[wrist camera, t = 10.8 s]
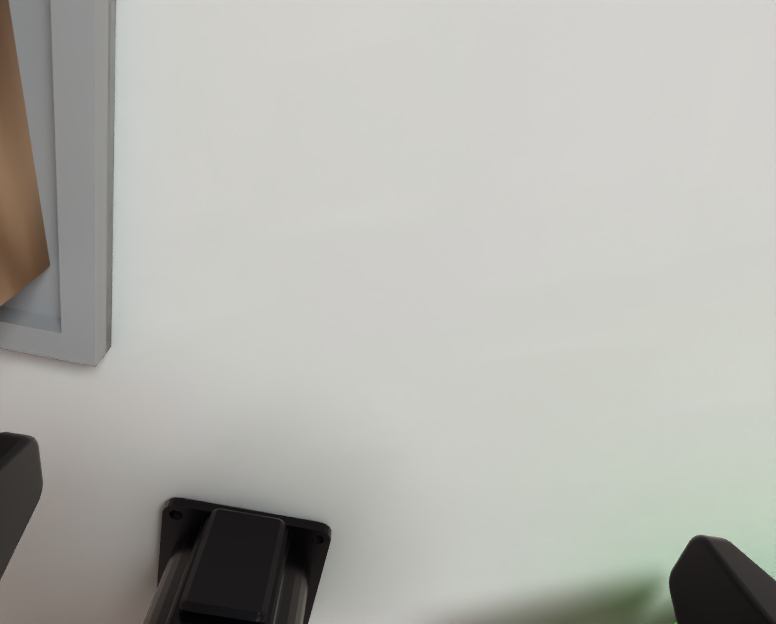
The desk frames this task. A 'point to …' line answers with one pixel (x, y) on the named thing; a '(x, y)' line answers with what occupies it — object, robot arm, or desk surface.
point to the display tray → (68, 177)
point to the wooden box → (17, 177)
